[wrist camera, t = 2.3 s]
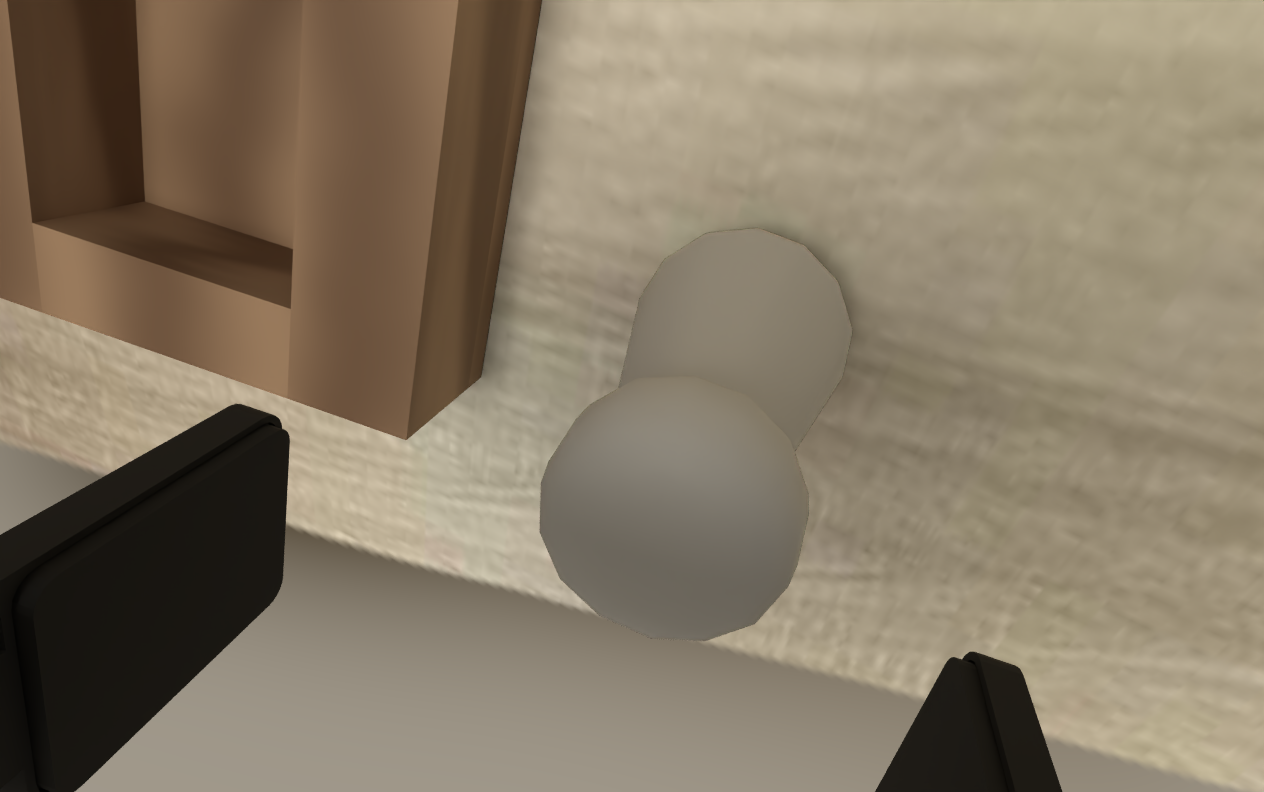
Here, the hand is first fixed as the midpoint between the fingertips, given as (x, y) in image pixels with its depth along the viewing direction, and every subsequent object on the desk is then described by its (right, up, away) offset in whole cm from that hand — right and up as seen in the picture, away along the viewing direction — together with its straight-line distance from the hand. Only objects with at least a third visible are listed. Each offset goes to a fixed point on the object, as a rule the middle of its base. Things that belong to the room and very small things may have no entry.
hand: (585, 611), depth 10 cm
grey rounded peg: (+4, +6, +13) cm, 15 cm away
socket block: (-10, +12, +14) cm, 21 cm away
